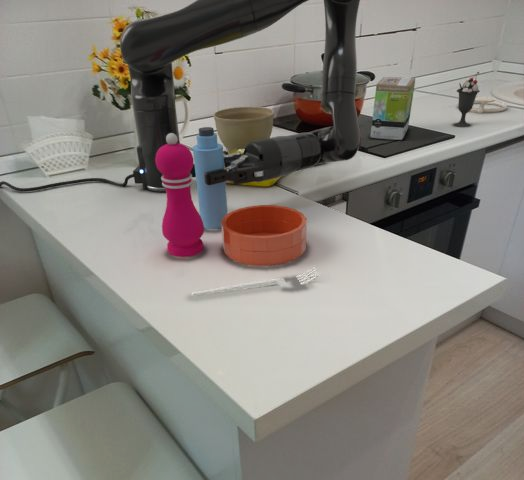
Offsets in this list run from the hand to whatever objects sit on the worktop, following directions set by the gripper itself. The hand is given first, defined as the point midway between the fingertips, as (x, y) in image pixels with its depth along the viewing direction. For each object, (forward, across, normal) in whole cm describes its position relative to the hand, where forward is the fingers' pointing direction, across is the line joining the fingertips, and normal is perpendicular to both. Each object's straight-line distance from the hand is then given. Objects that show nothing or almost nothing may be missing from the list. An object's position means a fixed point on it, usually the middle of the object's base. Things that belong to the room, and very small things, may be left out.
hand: (198, 175), depth 91 cm
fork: (+5, +26, +11) cm, 28 cm away
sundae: (-108, -22, +11) cm, 110 cm away
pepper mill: (+8, +7, +11) cm, 15 cm away
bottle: (-3, 0, +10) cm, 11 cm away
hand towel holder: (-133, -34, +11) cm, 138 cm away
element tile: (-26, -22, +11) cm, 36 cm away
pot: (-4, +15, +10) cm, 19 cm away
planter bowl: (-35, -39, +11) cm, 54 cm away
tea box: (-82, -30, +11) cm, 88 cm away
